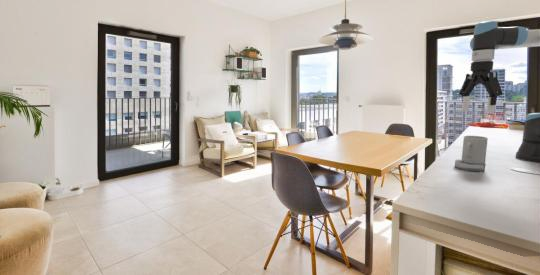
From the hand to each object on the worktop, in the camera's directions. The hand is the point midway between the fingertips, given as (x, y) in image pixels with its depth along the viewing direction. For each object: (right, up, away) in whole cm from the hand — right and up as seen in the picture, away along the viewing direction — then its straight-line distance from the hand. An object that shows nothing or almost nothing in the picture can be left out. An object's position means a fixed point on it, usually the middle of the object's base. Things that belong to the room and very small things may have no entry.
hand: (477, 112), depth 122 cm
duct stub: (-1, -25, +3) cm, 25 cm away
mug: (-1, -22, +2) cm, 22 cm away
